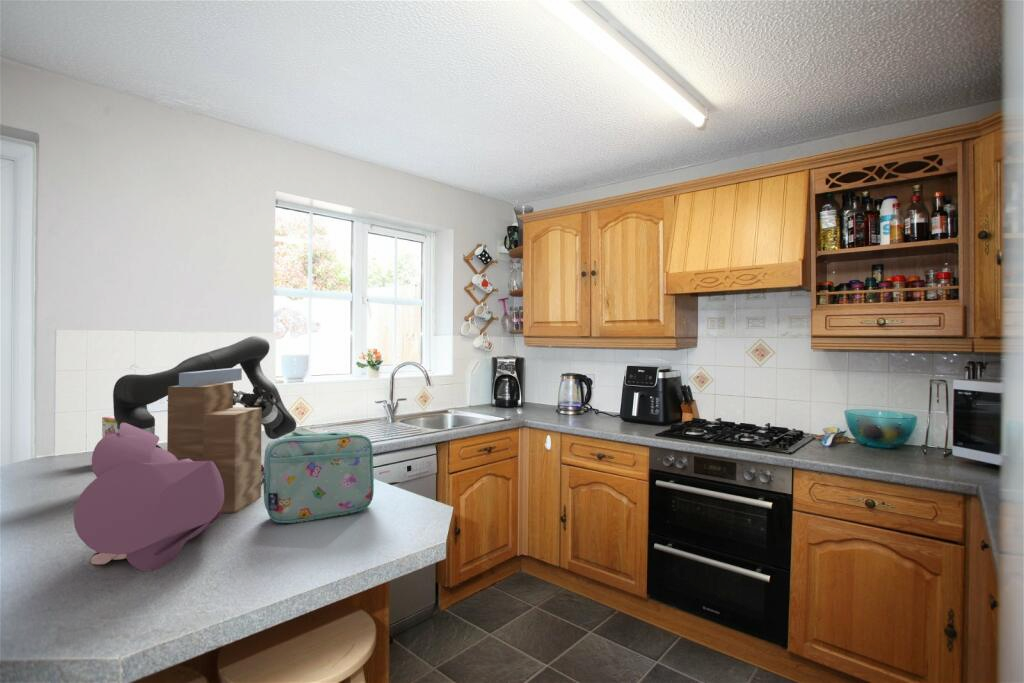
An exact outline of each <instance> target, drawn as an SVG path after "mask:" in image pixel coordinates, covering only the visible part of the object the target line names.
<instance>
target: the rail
mask: <svg viewBox="0 0 1024 683" xmlns="http://www.w3.org/2000/svg"><path fill="white" fill-rule="evenodd" d="M242 371H243V369H242V367H240V368H239V367H238V368H237V367H235V368H234V367H233V368H227V369H217V370H206V371H196V372H186V373H179V387H196V386H203V385H210V384H217V383H232V382H237V381H242V380H243V379H242V376H243V374H242V373H243V372H242Z"/></svg>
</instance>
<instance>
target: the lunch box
mask: <svg viewBox="0 0 1024 683" xmlns="http://www.w3.org/2000/svg"><path fill="white" fill-rule="evenodd" d="M373 450H374V448H373V443H372V441H371V439H370V438H369V437H368V436H366V435H363V434H362V433H359V432H352V431H351V432H350V431H340V432H339V431H338V432H336V431H335V432H330V431H329V432H328V431H327V432H314V433H313V432H312V433H306V432H305V433H299V432H296V430H294V431H292V432H291V435H284V436H282V437H279V438H277V439H271V441H269V442H268V444H267V445H266V448H265V450H264V459H263V461H264V462H263V477H262V478H261V484H260V486H259V487H261V488H262V486H263V501H264V502H263V503H264V508H265V510H266V511H267V515H268V516H269V519H271V520H272V521H273V522H275V523H278V524H294V523H295V524H296V522H297V523H304V522H303V521H305V522H309V520H311V521H315V519H316V520H323V519H327V517H328V518H332V517H337V516H338V515H339V516H344V515H350V514H354V513H357V512H361V511H362V510H364V509H367V508H368V507H369V506H370V504H371V503H372V501H373V498H374V494H375V493H374V492H375V491H374V490H375V488H374V485H375V484H374V481H375V480H374V479H375V478H374V477H375V476H374V451H373ZM349 513H350V514H349ZM339 516H338V517H339ZM322 518H323V519H322Z"/></svg>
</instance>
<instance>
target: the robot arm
mask: <svg viewBox="0 0 1024 683" xmlns="http://www.w3.org/2000/svg"><path fill="white" fill-rule="evenodd" d="M269 352H270V343H269V341H268V340H267V339H266V338H264V337H263V336H259V335H258V336H257V335H256V336H255V335H254V336H253V335H252V336H249V337H246V338H244V339H242V340H239V341H237V342H236V343H233V344H230V345H228V346H227V345H226V346H223V347H220V348H217V349H213V350H211V351H208V352H203V353H201V354H197V355H194V356H191V357H188V358H186V359H185V360H183V361H181V362H180V363H178V364H177V365H176V366H174V367H172V368H170V369H167V370H164V371H160V372H156V373H150V374H135V373H134V374H133V373H132V374H126V375H123V376H121V377H119V378H118V379H117V380H116V382H115V384H114V387H113V392H112V402H113V403H112V404H113V405H112V406H113V416H114V418H115V420H116V422H117V433H119V429H120V424H121V423H127V424H130V425H132V426H135V427H137V428H140V429H142V430H145V431H147V432H150V433H152V434H155V435H156V419H155V416H154V415H152V414H151V413H150V411H149V409H148V406H147V405H152V404H153V403H155V402H157V401H159V400H161V399H164V398H165V397H168V387H171V386H178V385H179V373H186V372H196V371H206V370H217V369H227V368H234V367H236V366H237V365H240V368H242V371H244V373H245V375H246V377H247V379H248V380H249V382H250V384H251V386H252V388H253V389H252V393H250V392H248V393H247V392H246V391H245V392H244V391H241V390H240V391H237V390H234V389H233V406H236V404H240V405H243V408H262V421H261V426H263V428H264V433H265V435H266V437H267V438H269V439H270V440H275V439H277V438H280V437H284V436H287V435H288V434H290V433H291V434H292V431H296V429H297V421H296V419H295V418H294V417H293V416H292V414H291V413H290V412H289V410H287V408H286V407H285V404H284V402H283V400H282V397H281V395H280V393H279V391H278V387H276V386H275V384H274V383H273V382H272V381H271V380H269V379H268V378H267V377H266V375H265V374H264V372H263V371H262V367H261V362H262V361H263V360H264V359H265V358H266V357H267V355H268V354H269Z"/></svg>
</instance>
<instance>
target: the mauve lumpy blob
mask: <svg viewBox="0 0 1024 683" xmlns="http://www.w3.org/2000/svg"><path fill="white" fill-rule="evenodd" d="M159 441H160V437H159V436H158V435H156V433H155V434H152V433H150V432H147V431H145V430H142V429H140V428H137V427H135V426H132V425H130V424H127V423H121V424H120V429H119V433H113V434H109V435H107V436H105V437H103V438H102V437H101V439H100V440H99V441H98V442H97V444H96V445H95V447H94V448H93V452H92V456H91V469H92V472H93V474H94V475H95V477H96V478H95V479H94V480H92V482H90V483H89V484H88V485H87V486H86V487H85V488H84V490H83V491H82V492H81V493H80V495H79V497H78V499H77V502H76V504H75V506H74V511H73V524H74V529H75V531H76V533H77V535H78V537H79V539H80V540H81V541H82V542H83V543H84V544H85V546H86V547H88V548H90V549H91V550H93V551H94V552H93V554H95V555H94V556H93V557H92V558H91V560H90V562H91V564H93V565H105V564H107V563H109V562H110V561H111V560H113V561H114V560H125V559H127V561H128V563H129V564H130V565H132V566H133V567H135V568H137V569H138V570H142V571H154V570H156V569H157V570H158V569H160V568H161V567H164V566H166V565H168V564H170V563H172V562H173V561H175V560H176V558H177V557H178V555H179V554H180V552H181V551H182V548H183V547H185V544H186V542H188V541H190V540H192V539H193V538H194V537H196V536H199V534H201V533H202V532H203V531H204V530H205V529H206V528H207V527H208V526H210V525H211V524H213V523H214V522H217V521H218V520H220V519H221V515H222V513H221V508H222V505H223V503H224V486H223V481H222V478H221V475H220V473H219V471H218V469H217V467H216V465H215V464H214V462H213V461H192V460H190V459H183V460H178V459H177V458H176V457H175V456H174V455H173V454H171V453H170V452H168V451H167V449H164V448H162V446H159V445H158V443H159Z"/></svg>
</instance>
